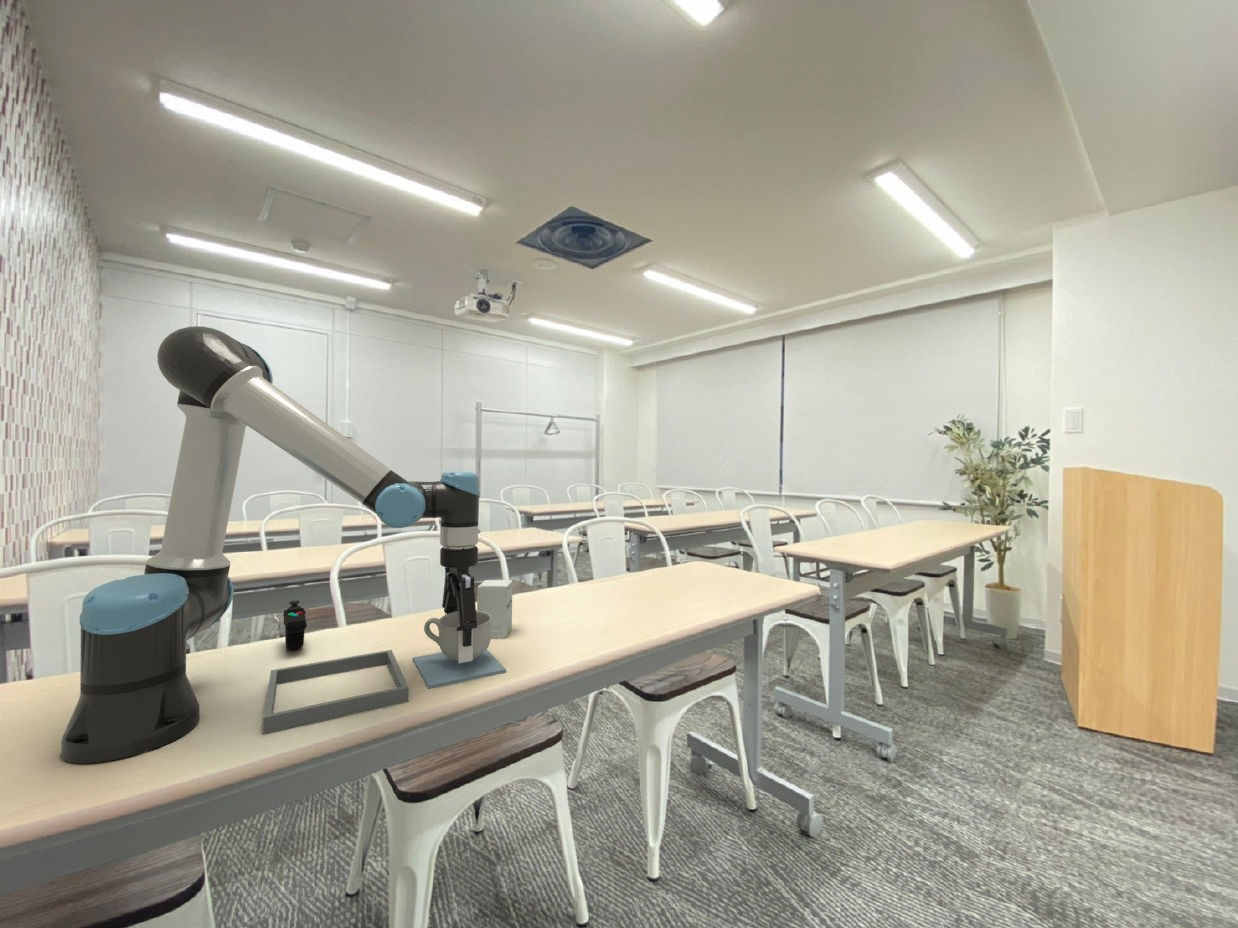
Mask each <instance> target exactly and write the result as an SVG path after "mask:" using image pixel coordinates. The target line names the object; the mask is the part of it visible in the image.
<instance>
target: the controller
mask: <svg viewBox="0 0 1238 928" xmlns="http://www.w3.org/2000/svg"><path fill="white" fill-rule="evenodd" d="M288 604H289V605H290V606H289V607H288V608H287V609H285V610H283V624H284V627H285V629H284V631H285V633H284V635H285V639H284V640H285V641H284V642H285V649H286V650H291V651H292V650H297V649H300V648H303V646H304V644H305V630H306V628H307V627H308V625H307V618H306V613H307V612H306V610H305V608H304V607H301V606H300V605H299V604H300V600H297V599H296V600H291V601H289V602H288Z"/></svg>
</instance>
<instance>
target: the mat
mask: <svg viewBox="0 0 1238 928" xmlns="http://www.w3.org/2000/svg"><path fill="white" fill-rule="evenodd" d="M412 662H413V664H414V666H415V667H416V668H417V670H418V673H419V674H420V676H421V678H422V680H423V681H424V684H425V686H426V688H427V689H428V690H429V689H434V688H439V687H443V686H447V685H454V684H456V683H457V684H458V683H462V682H467V681H471V680H476V679H480V678H481V679H482V678H485V677H489V676H494V675H499V674H504V673H507V668H506V667H504V665H503V664H502V663H501V662H500V661H499V660H498V659H497V658H496V657H495V656H494V655H493V654H492V653H491V652H490V651H489V650H488V648H487V649H486V650H485V651H484V652H483V653H482V654H481V655H480V656H478V657H477V658H474V659H473V661H468V662H463V663H458V661H457V660H453V659H450V658H449V657H448V656H446V655H445V654H443V652H442V651H441V652H435V653H430V654H424V655H420V656H413V657H412Z"/></svg>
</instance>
